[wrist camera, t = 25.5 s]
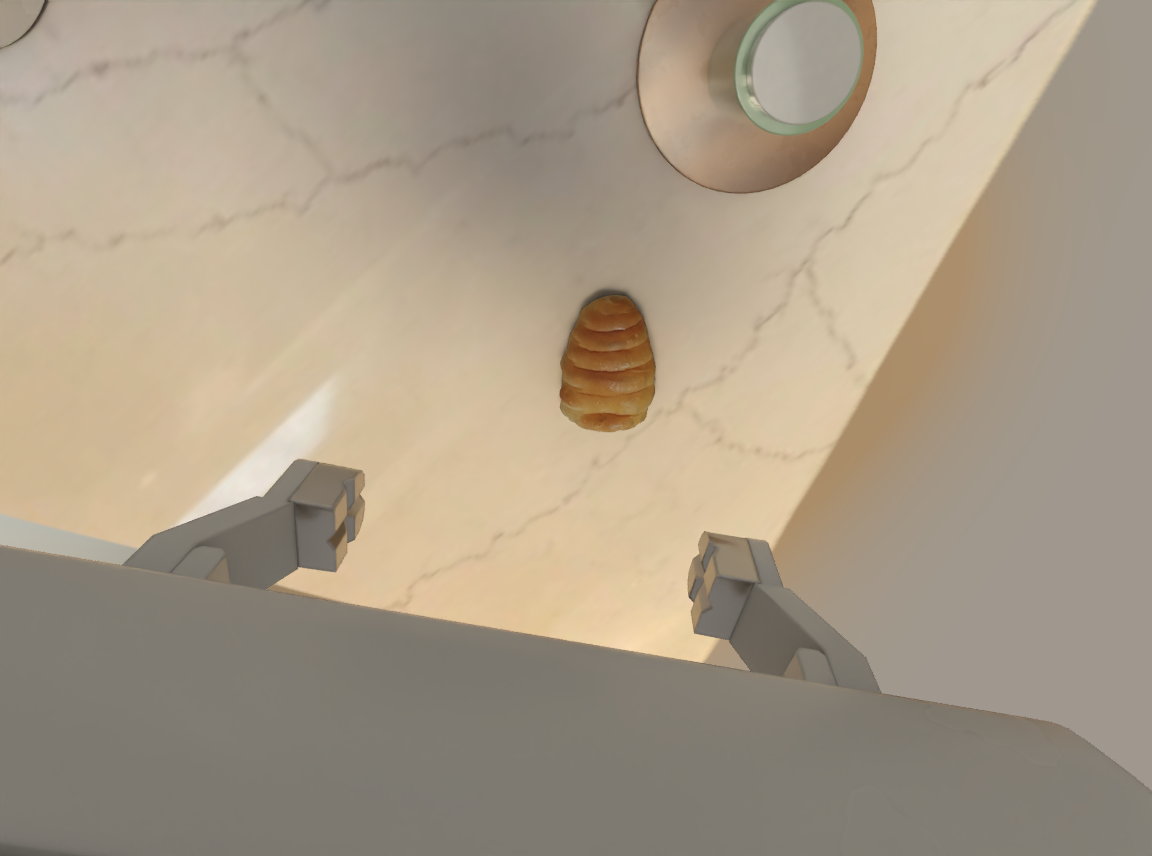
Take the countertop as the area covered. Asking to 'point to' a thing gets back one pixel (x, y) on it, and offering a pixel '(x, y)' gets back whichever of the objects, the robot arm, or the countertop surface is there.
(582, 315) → the pastry
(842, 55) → the salt shaker
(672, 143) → the coaster
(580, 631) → the countertop surface
